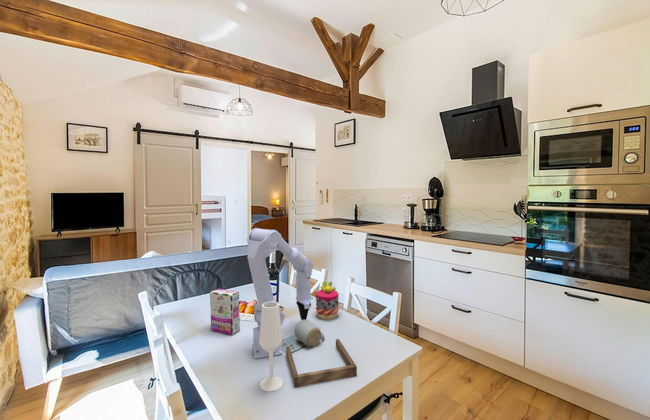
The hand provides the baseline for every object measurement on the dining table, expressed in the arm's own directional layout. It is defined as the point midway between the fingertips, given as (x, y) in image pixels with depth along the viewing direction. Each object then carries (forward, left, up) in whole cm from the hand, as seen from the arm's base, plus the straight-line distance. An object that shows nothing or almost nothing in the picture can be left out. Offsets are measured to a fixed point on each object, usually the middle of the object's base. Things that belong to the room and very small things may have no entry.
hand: (303, 319), depth 118 cm
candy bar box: (-31, +8, -5) cm, 32 cm away
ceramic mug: (+1, -10, -5) cm, 11 cm away
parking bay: (0, -25, -4) cm, 25 cm away
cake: (+13, +10, -5) cm, 17 cm away
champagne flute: (-16, -30, -5) cm, 34 cm away
